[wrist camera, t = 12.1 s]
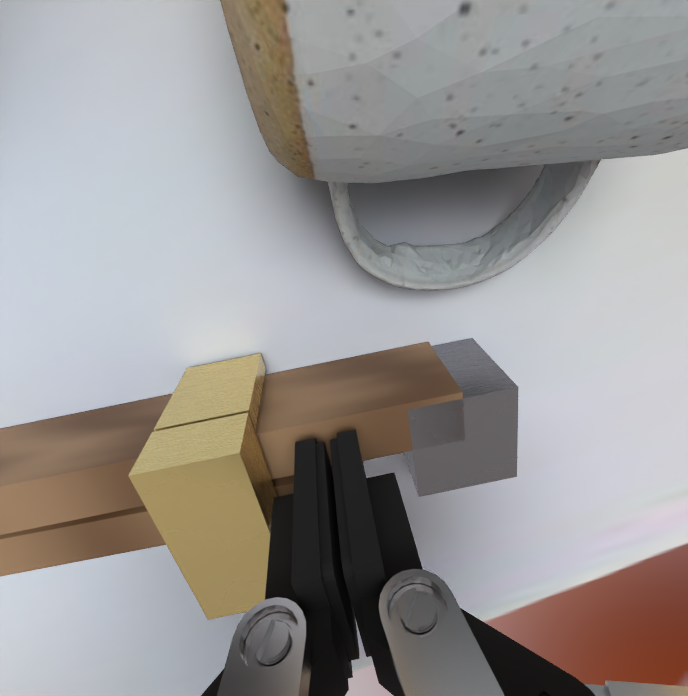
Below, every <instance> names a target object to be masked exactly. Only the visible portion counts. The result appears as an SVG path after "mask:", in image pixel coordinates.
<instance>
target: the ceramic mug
mask: <svg viewBox="0 0 688 696" xmlns="http://www.w3.org/2000/svg"><path fill="white" fill-rule="evenodd" d="M220 1H221V5H222V9H223V12H224V16H225V20H226V24H227V28H228V31H229V34H230V38H231V41H232V45H233V48H234V51H235V55H236V58H237V62H238V65H239V68H240V72H241V75H242V78H243V82H244V85H245V89H246V92H247V95H248V98H249V101H250V104H251V107H252V110H253V112H254V115H255V118H256V121H257V124H258V127H259V129H260V132H261V134H262V136H263V138H264V140H265V143H266V145H267V147H268V149H269V151H270V152H271V154H272V155H273V156H274V157H275V159H276V160H277V161H278V162H279V163H281V164H282V165H283V166H285V167H286V168H287V169H289V170H290V171H292V172H293V173H294V174H296V175H297V176H299V177H304V178H309V179H315V180H320V181H328V186H329V190H330V194H331V200H332V204H333V208H334V214H335V219H336V222H337V224H338V227H339V230H340V233H341V236H342V239H343V241H344V242H345V244H346V246H347V247H348V249H349V251H350V252H351V254H352V256H353V257H354V259H355V260H356V262H357V263H358V264H359V265H360V266H361V267H362V268H363V269H364V270H366V271H367V272H369V273H370V274H372V275H373V276H375V277H376V278H378V279H380V280H382V281H384V282H386V283H388V284H391V285H393V286H396V287H402V288H407V289H418V290H445V289H454V288H460V287H465V286H469V285H472V284H476V283H479V282H481V281H484V280H487V279H489V278H491V277H494V276H496V275H498V274H500V273H502V272H504V271H506V270H507V269H509V268H511V267H512V266H514V265H515V264H517V263H518V262H519V261H521V260H522V259H524V258H525V257H526V256H527V255H529V254H530V253H531V252H532V251H533V250H534V249H535V248H536V247H537V246H539V245H540V244H541V243H542V242H543V241H544V240H545V239H546V238H547V237H548V236H549V235H550V234H551V233H552V232H553V231H554V230H555V228H556V227H557V226H558V225H559V224H560V222H561V221H562V220H563V219H564V217H565V216H566V215H567V214H568V212H569V211H570V210H571V209H572V207H573V206H574V205H575V203H576V202H577V200H578V198H579V197H580V195H581V194H582V192H583V190H584V189H585V187H586V185H587V184H588V182H589V180H590V178H591V176H592V175H593V173H594V171H595V169H596V168H597V166H598V164H599V162H600V160H601V159H611V158H623V157H635V156H647V155H656V154H663V153H668V152H672V151H677V150H681V149H686V148H688V0H220ZM542 164H545V166H544V168H543V170H542V172H541V174H540V176H539V178H538V179H537V180H536V182H535V184H534V186H533V188H532V189H531V191H530V192H529V193H528V195H527V196H526V198H525V199H524V200H523V201H522V203H521V204H520V205H519V207H518V208H517V209H516V210H515V211H514V212H512V213H511V214H510V215H509V216H508V217H507V219H506V220H504V221H503V222H502V223H501V224H499V225H498V226H496V227H495V228H494V229H493V230H492V231H491V232H489V233H487V234H486V235H484V236H482V237H480V238H475V239H473V240H471V241H470V242H468V243H461V244H454V245H435V246H412V245H409V244H407V243H405V242H404V243H400V244H396V245H392V246H387V245H385V244H383V243H381V242H379V241H377V240H375V239H374V238H373V237H372V236H371V235H370V234H369V233H368V232H367V231H366V230H365V229H364V228H363V227H362V226H361V225H360V224H359V222H358V220H357V218H356V215H355V212H354V209H353V208H352V206H351V205H350V197H349V193H348V189H347V188H348V183H382V182H391V181H400V180H410V179H419V178H427V177H433V176H438V175H444V174H450V173H456V172H462V171H468V170H478V169H496V168H507V167H518V166H529V165H542Z"/></svg>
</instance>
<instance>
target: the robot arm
mask: <svg viewBox="0 0 688 696" xmlns="http://www.w3.org/2000/svg"><path fill="white" fill-rule="evenodd" d="M330 449H331V459H332V470H333V474H332V470H331V466H330V462H329V458H328V454H327V450H326V447H325V443H324V441H323V442H318V443H317V441H316V438H311V439H306V440H301V441H296V442H295V459H294V493H293V494H289V495H284V496H279V497H275V498H274V501H273V509H272V521H271V532H270V544H269V556H268V568H267V580H266V592H265V600H264V601H262V602H261V603H259V604H257V605H255V606H254V607H253V608H252V609H251V610H250V611H248V612H247V613H246V614H245V616H244V617H243V618H242V620H241V621H240V623H239V624H238V626H237V629H236V631H235V633H234V636H233V639H232V642H231V646H230V650H229V653H228V657H227V661H226V664H225V668H224V669H223V671H222V672H221V673H220V674H219V675H218V676H217V678H216V679H215V680H214V681H213V682H212V683H211V685H210V686H209V687H208V688H207V689H206V690H205V692H204V693H203V694H202V695H201V696H345V694H346V693H347V691H348V678H351V677H353V676H352V665H351V660H355V659H359V647H358V638H357V630H356V621H357V625H358V628H359V632H360V635H361V639H362V643H363V646H364V650H365V653H366V656H367V657H369V656H372V659H373V663H374V667H375V670H376V674H377V678H378V681H379V683H380V684H381V685H382V686H383V687H384V688H385V689H387V690H388V691H389V692H390V693H391V694H392V695H394V696H688V687H685V686H671V685H658V684H645V683H631V682H617V681H606V682H605V686H602V685H588V684H583V683H581V682H580V681H579V680H578V679H576V678H575V677H573V676H572V675H570V674H568V673H566V672H565V671H563V670H562V669H560V668H558V667H557V666H555V665H553V664H552V663H550V662H548V661H547V660H545V659H544V658H542V657H540V656H538V655H537V654H535V653H534V652H532V651H530V650H529V649H527V648H525V647H524V646H522V645H520V644H519V643H517V642H515V641H514V640H512V639H510V638H509V637H507V636H506V635H504V634H502V633H501V632H499V631H497V630H495V629H494V628H492V627H491V626H489V625H487V624H486V623H484V622H482V621H481V620H479V619H477V618H476V617H474V616H472V615H471V614H469V613H467V612H466V611H464V610H463V609H461V608H460V607H459V605H458V603H457V601H456V600H455V598H454V596H453V594H452V592H451V590H450V589H449V587H448V586H447V585H446V583H445V582H444V581H443V580H442V579H440V578H439V577H438V576H437V575H435V574H433V573H431V572H428V571H426V570H423V569H422V566H421V562H420V559H419V555H418V552H417V549H416V545H415V542H414V538H413V535H412V531H411V528H410V525H409V521H408V518H407V514H406V511H405V507H404V504H403V501H402V497H401V494H400V490H399V487H398V483H397V480H396V477H395V474H394V473H390V474H385V475H380V476H375V477H371V478H366V475H365V471H364V466H363V461H362V456H361V451H360V447H359V442H358V437H357V432H356V429H354V430H350V431H345V432H340V433H337V439H333V440H330ZM355 618H356V621H355Z"/></svg>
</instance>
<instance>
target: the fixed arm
mask: <svg viewBox="0 0 688 696" xmlns="http://www.w3.org/2000/svg"><path fill="white" fill-rule="evenodd" d="M172 395H173V394H169V395H164V396H159V397H154V398H149V399H144V400H139V401H135V402H130V403H125V404H120V405H115V406H110V407H105V408H100V409H95V410H90V411H85V412H80V413H76V414H71V415H66V416H61V417H56V418H51V419H46V420H41V421H36V422H31V423H26V424H21V425H17V426H12V427H7V428H2V429H0V535H3V534H8V533H13V532H18V531H23V530H28V529H33V528H38V527H42V526H47V525H52V524H57V523H62V522H67V521H72V520H77V519H81V518H86V517H91V516H96V515H101V514H106V513H111V512H116V511H120V510H125V509H130V508H135V507H140V506H145V505H144V503H143V501H142V500H141V498H140V496H139V494H138V492H137V491H136V489H135V487H134V485H133V483H132V482H131V480H130V478H129V476H128V475H129V473H130V472H131V470H132V468H133V466H134V464H135V462H136V461H137V459H138V457H139V455H140V453H141V451H142V450H143V448H144V446H145V444H146V442H147V440H148V439H149V437H150V435H151V433H152V432H154V428H155V426H156V424H157V422H158V420H159V419H160V417H161V415H162V413H163V411H164V409H165V408H166V406H167V404H168V402H169V400H170V398H171V397H172ZM458 399H459V400H461V399H463V392H462V391H461V389H460V388H459V386H458V385H457V383H456V382H455V380H454V379H453V377H452V376H451V374H450V373H449V371H448V370H447V369H446V367H445V366H444V364H443V363H442V361H441V360H440V358H439V357H438V355H437V354H436V352H435V351H434V349H433V348H432V347H431V345H430V344H429V342H425V343H420V344H415V345H410V346H405V347H400V348H395V349H390V350H385V351H380V352H376V353H371V354H366V355H361V356H356V357H351V358H346V359H341V360H336V361H331V362H326V363H321V364H317V365H312V366H307V367H302V368H297V369H292V370H287V371H282V372H277V373H272V374H267V375H265V376H264V382H263V388H262V394H261V400H260V405H259V411H258V417H257V423H256V429H255V433H256V436H257V439H258V442H259V445H260V448H261V451H262V454H263V456H264V459H265V462H266V465H267V468H268V471H269V474H270V477H271V480H272V479H276V478H281V477H286V476H291V475H294V459H295V442H296V441H301V440H306V439H311V438H316V441H317V443H318V442H323V441H324V443H325V447H326V450H327V454H328V458H329V462H330V466H331V467H332V459H331V449H330V440H333V439H337V433H340V432H345V431H350V430H354V429H356V432H357V437H358V442H359V447H360V451H361V456H362V461H364V460H369V459H374V458H379V457H384V456H389V455H393V454H398V453H403V452H408V451H413V447H414V446H412V443H413V442H412V440H411V432H410V427H411V426H410V425H411V424H409V417H408V410H409V409H414V408H419V407H424V406H429V405H434V404H438V403H441V404H442V403H443V402H445V403H446V402H448V401H450V402H454V401H453V400H457V401H458ZM455 402H456V401H455ZM458 402H459V401H458ZM458 402H457V403H458ZM448 403H449V402H448ZM449 404H450V403H449ZM452 404H453V403H452ZM455 404H456V403H455ZM458 404H461V403H458ZM439 405H440V404H439ZM443 405H444V404H443ZM443 405H442V406H443ZM461 405H462V406H461V407H462V408H463V404H461ZM446 406H447V405H446ZM454 406H455V405H454ZM459 406H460V405H459ZM459 406H458V409H459ZM443 407H444V406H443ZM449 407H450V406H449ZM451 407H453V406H451ZM461 407H460V408H461ZM431 408H432V407H431ZM437 408H438V407H437ZM441 408H442V407H441ZM447 408H448V406H447ZM462 408H461V409H462ZM435 409H436V408H435ZM450 409H451V408H450ZM430 410H431V409H430ZM439 410H440V408H439ZM442 410H443V408H442ZM453 410H454V409H453ZM456 410H457V406H456V409H455V411H456ZM422 411H423V410H422ZM431 411H432V410H431ZM436 411H438V410H436ZM443 411H444V410H443ZM457 411H459V410H457ZM457 411H456V412H457ZM462 411H463V410H462ZM411 412H412V411H411ZM416 412H417V411H416ZM428 412H429V411H428ZM428 412H427V413H428ZM444 412H445V411H444ZM449 412H450V411H449ZM449 412H448V413H449ZM446 413H447V412H446ZM448 413H447V414H448ZM453 413H454V412H453ZM453 413H452V414H453ZM461 413H462V415H464V413H463V412H461ZM424 414H425V413H424ZM443 414H444V413H443ZM443 414H442V416H443ZM447 414H446V415H447ZM420 415H421V414H420ZM431 415H432V412H431ZM450 415H451V414H450ZM453 415H454V414H453ZM462 415H461V416H462ZM425 416H426V414H425ZM434 416H435V415H434ZM442 416H441V417H442ZM447 416H449V415H447ZM447 416H445V414H444V417H447ZM418 417H420V416H418ZM430 417H431V416H430ZM444 417H443V418H444ZM453 417H454V416H453ZM453 417H452V418H453ZM455 417H456V415H455ZM459 417H460V416H459ZM463 417H464V416H463ZM416 418H417V417H416ZM425 418H426V417H425ZM437 418H438V420H439V417H437ZM443 418H442V419H443ZM447 418H449V417H447ZM452 418H449V420H450V419H452ZM456 418H458V415H457V417H456ZM456 418H454V419H456ZM417 419H418V418H417ZM421 419H422V418H421ZM444 419H445V418H444ZM459 419H461V418H459ZM463 419H464V418H463ZM415 420H416V419H415ZM434 420H435V419H434ZM447 420H448V419H446V421H447ZM457 420H458V419H457ZM428 421H429V420H428ZM432 421H433V420H432ZM435 421H436V420H435ZM460 421H461V420H460ZM444 422H445V421H444ZM432 423H433V422H432ZM451 423H452V422H451ZM460 423H461V422H460ZM463 423H464V422H462V423H461V424H462V425H463ZM426 424H427V423H426ZM428 424H429V423H428ZM435 424H436V423H435ZM437 424H438V423H437ZM445 424H446V423H445ZM449 424H450V422H449ZM457 424H458V423H457ZM413 425H414V424H413ZM422 425H423V424H422ZM447 425H448V423H447ZM450 425H451V424H450ZM450 425H449V426H450ZM453 425H454V422H453ZM462 425H461V426H460V427H462ZM438 426H439V425H438ZM451 426H452V425H451ZM419 427H420V426H419ZM424 427H425V426H424ZM429 427H431V426H429ZM441 427H443V426H441ZM447 427H448V426H447ZM458 427H459V426H458ZM458 427H457V428H458ZM464 427H465V426H464ZM464 427H463V428H464ZM431 428H432V427H431ZM445 428H446V426H445ZM448 428H449V427H448ZM452 428H453V427H452ZM457 428H456V429H457ZM417 429H418V428H417ZM423 429H424V428H423ZM429 429H430V428H429ZM438 429H439V428H438ZM440 429H441V428H440ZM458 429H459V428H458ZM413 430H414V429H413ZM420 430H421V428H420ZM441 430H442V429H441ZM445 430H446V429H445ZM425 431H426V430H425ZM431 431H432V430H431ZM433 431H434V430H433ZM437 431H438V430H437ZM448 431H449V430H448ZM452 431H453V430H452ZM412 432H413V431H412ZM417 432H418V431H417ZM421 432H422V431H421ZM421 432H420V433H421ZM435 432H436V431H435ZM441 432H442V431H441ZM458 432H460V431H457V433H458ZM463 432H464V431H463ZM463 432H462V433H463ZM445 433H446V432H445ZM448 433H449V434H451V432H448ZM462 433H461V434H462ZM416 434H417V433H416ZM427 434H428V433H427ZM430 434H431V432H430ZM433 434H434V433H433ZM435 434H436V433H435ZM449 434H446V435H448V436H449ZM464 434H465V433H464ZM419 435H420V434H419ZM443 435H444V434H443ZM446 435H445V436H446ZM452 435H453V434H452ZM429 436H430V435H429ZM432 436H433V435H432ZM455 436H456V435H455ZM457 436H458V435H457ZM457 436H456V437H457ZM462 436H463V435H462ZM464 436H465V435H464ZM416 437H417V436H416ZM424 437H425V436H424ZM424 437H422V438H424ZM430 437H431V436H430ZM433 437H434V436H433ZM443 437H444V436H443ZM443 437H442V438H443ZM446 437H447V436H446ZM449 437H450V436H449ZM459 438H460V437H459ZM437 439H438V438H437ZM456 439H457V438H456ZM439 440H440V439H439ZM444 440H445V439H444ZM446 440H447V441H449V440H450V439H449V440H448V439H446ZM446 440H445V441H446ZM453 440H454V438H453ZM460 440H465V439H463V438H462V439H460ZM417 441H418V440H417ZM441 441H442V440H441ZM441 441H440V442H441ZM458 441H459V440H458ZM432 442H434V441H432ZM432 442H431V443H432ZM451 442H452V441H451ZM453 442H454V441H453ZM417 443H418V442H417ZM438 443H439V441H438ZM418 444H419V443H418ZM424 444H425V442H424ZM433 444H434V443H433ZM436 444H437V443H436ZM422 445H423V444H422ZM418 447H419V446H418ZM426 447H428V446H426ZM431 447H432V446H431ZM414 448H415V447H414ZM422 449H423V448H422Z"/></svg>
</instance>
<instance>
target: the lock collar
mask: <svg viewBox="0 0 688 696" xmlns="http://www.w3.org/2000/svg"><path fill="white" fill-rule="evenodd" d="M265 371H266V369H265V365H264V362H263V359H262V356H261V353H260V354H255V355H250V356H245V357H240V358H235V359H230V360H225V361H220V362H215V363H210V364H205V365H201V366H196V367H191V368H187V369H186V371H185V373H184V375H183V376H182V378H181V380H180V382H179V384H178V386H177V387H176V389H175V391H174V393H173V395H172V397H171V398H170V400H169V402H168V404H167V406H166V408H165V409H164V411H163V413H162V415H161V417H160V419H159V420H158V422H157V424H156V426H155V428H154V432H152V433H151V435H150V437H149V439H148V440H147V442H146V444H145V446H144V448H143V450H142V451H141V453H140V455H139V457H138V459H137V461H136V462H135V464H134V466H133V468H132V470H131V472H130V473H129V475H128V476H129V478H130V480H131V482H132V483H133V485H134V487H135V489H136V491H137V492H138V494H139V496H140V498H141V500H142V501H143V503H144V505H145V507H146V509H147V511H148V512H149V514H150V516H151V518H152V520H153V521H154V523H155V525H156V527H157V529H158V530H159V532H160V534H161V536H162V538H163V539H164V541H165V543H166V545H167V547H168V548H169V550H170V552H171V554H172V556H173V557H174V559H175V561H176V563H177V565H178V566H179V568H180V570H181V572H182V574H183V575H184V577H185V579H186V581H187V583H188V584H189V586H190V588H191V590H192V592H193V593H194V595H195V597H196V599H197V601H198V602H199V604H200V606H201V608H202V610H203V611H204V613H205V615H206V617H207V619H208V620H209V619H214V618H218V617H223V616H228V615H233V614H238V613H243V612H247V611H250V610H251V609H252V608H253V607H254V606H255V605H257V604H259V603H261V602H262V601H264V600H265V592H266V580H267V568H268V556H269V544H270V532H271V521H272V509H273V501H274V498H275V497H277V494H276V491H275V488H274V485H273V483H272V480H271V477H270V474H269V471H268V468H267V465H266V462H265V459H264V456H263V454H262V451H261V448H260V445H259V442H258V439H257V436H256V433H255V429H256V423H257V417H258V411H259V405H260V400H261V394H262V388H263V382H264V376H265Z"/></svg>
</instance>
